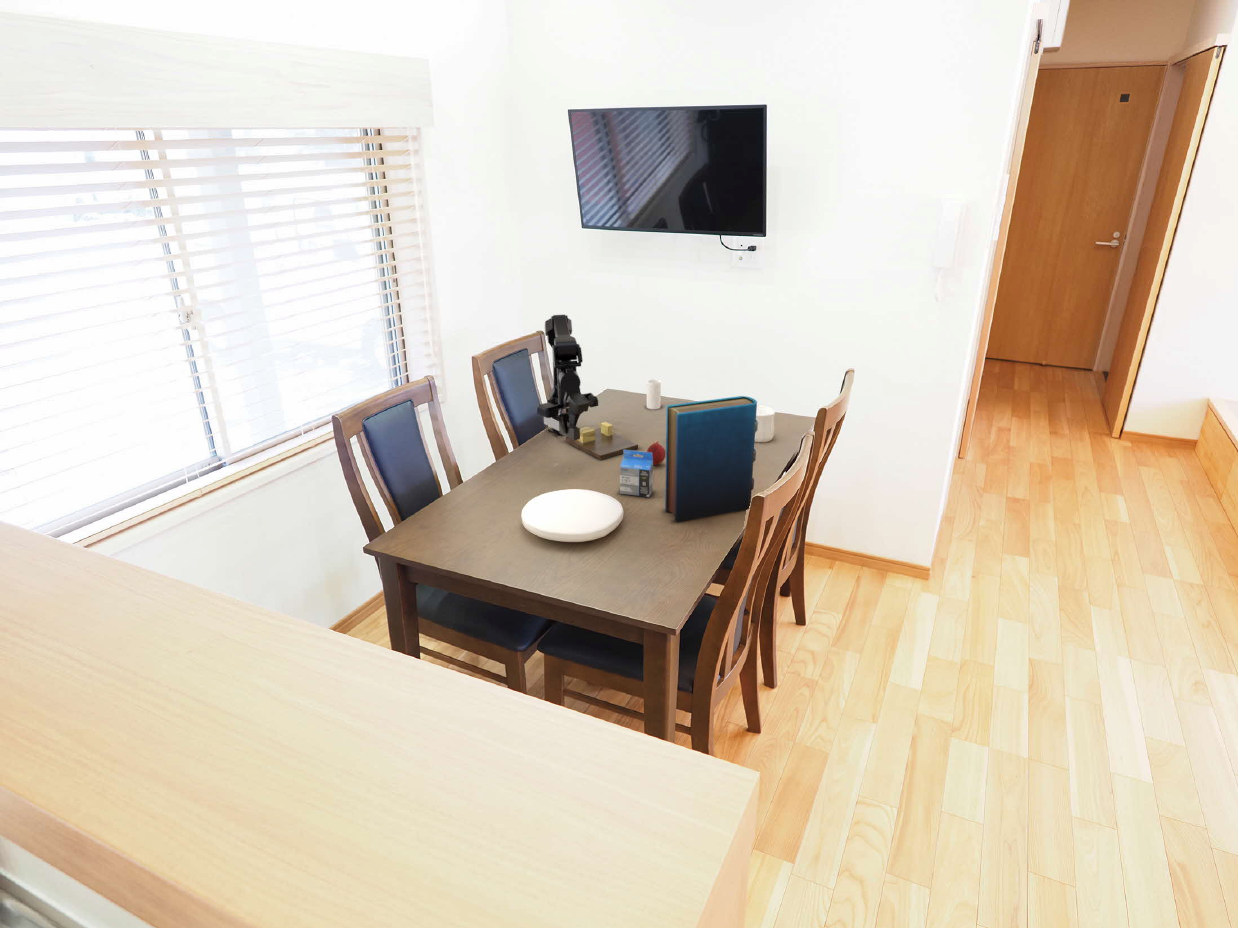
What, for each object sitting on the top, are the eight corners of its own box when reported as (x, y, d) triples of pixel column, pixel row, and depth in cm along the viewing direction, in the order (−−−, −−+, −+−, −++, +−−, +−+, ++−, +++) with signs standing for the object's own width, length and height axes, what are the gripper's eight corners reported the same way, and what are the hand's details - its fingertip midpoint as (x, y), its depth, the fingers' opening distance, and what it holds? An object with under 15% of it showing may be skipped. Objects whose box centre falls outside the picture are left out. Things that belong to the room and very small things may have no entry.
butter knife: (580, 438, 236) (579, 428, 234) (574, 440, 234) (573, 429, 233) (547, 422, 249) (547, 412, 247) (541, 424, 248) (541, 413, 246)
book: (741, 495, 222) (747, 393, 210) (757, 507, 215) (763, 402, 203) (663, 508, 215) (664, 404, 203) (676, 522, 207) (677, 414, 195)
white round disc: (528, 485, 218) (624, 485, 218) (529, 507, 220) (624, 507, 220) (513, 521, 191) (622, 522, 191) (514, 546, 193) (622, 547, 193)
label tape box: (619, 494, 223) (618, 454, 219) (623, 488, 227) (623, 449, 222) (649, 497, 221) (649, 457, 216) (653, 491, 225) (653, 452, 220)
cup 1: (647, 404, 295) (647, 379, 291) (660, 404, 295) (661, 379, 291) (646, 409, 290) (646, 383, 286) (660, 409, 290) (660, 383, 286)
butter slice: (600, 432, 264) (600, 423, 263) (605, 431, 265) (605, 421, 264) (607, 436, 261) (607, 426, 260) (612, 434, 262) (612, 425, 261)
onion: (659, 470, 238) (659, 446, 235) (643, 466, 241) (643, 442, 238) (668, 464, 243) (669, 440, 240) (652, 460, 246) (652, 436, 243)
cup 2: (751, 430, 269) (752, 403, 265) (778, 436, 264) (780, 408, 260) (738, 438, 262) (740, 411, 258) (766, 445, 257) (768, 416, 253)
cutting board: (565, 441, 261) (564, 427, 259) (602, 431, 269) (601, 417, 267) (600, 460, 246) (600, 445, 245) (638, 448, 255) (638, 434, 253)
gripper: (555, 395, 220) (558, 446, 226) (608, 382, 231) (609, 432, 237) (534, 386, 229) (537, 436, 235) (587, 374, 239) (588, 423, 245)
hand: (569, 432), depth 238 cm, fingers closed on butter knife, 2 cm apart
